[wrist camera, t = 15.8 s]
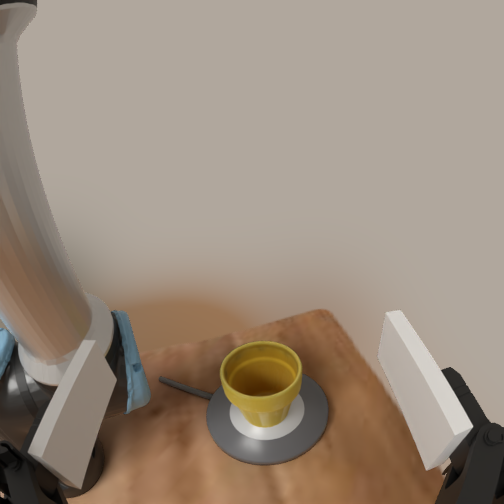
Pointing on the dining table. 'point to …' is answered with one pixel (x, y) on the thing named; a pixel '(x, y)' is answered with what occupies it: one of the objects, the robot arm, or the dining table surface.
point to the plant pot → (262, 381)
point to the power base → (271, 438)
